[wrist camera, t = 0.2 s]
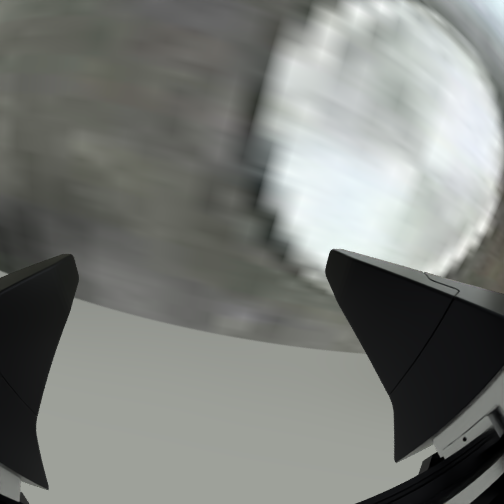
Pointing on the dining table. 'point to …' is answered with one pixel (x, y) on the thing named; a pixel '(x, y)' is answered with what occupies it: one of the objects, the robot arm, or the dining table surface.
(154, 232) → the dining table surface
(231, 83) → the dining table surface
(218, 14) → the dining table surface
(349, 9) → the dining table surface
